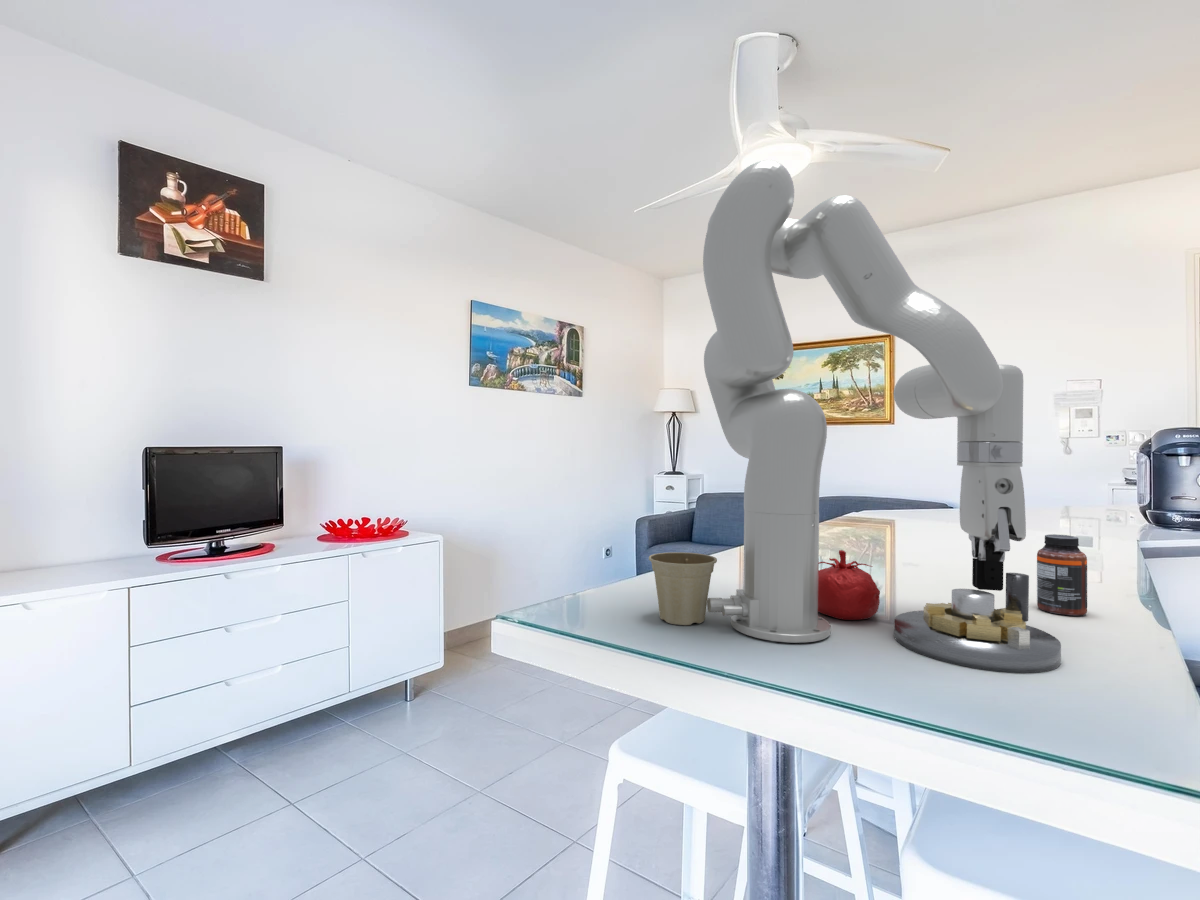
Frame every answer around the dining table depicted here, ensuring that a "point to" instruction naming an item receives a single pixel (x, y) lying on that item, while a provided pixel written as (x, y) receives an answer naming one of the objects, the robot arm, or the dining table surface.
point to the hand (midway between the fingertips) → (987, 588)
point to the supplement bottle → (1062, 576)
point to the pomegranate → (847, 591)
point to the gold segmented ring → (982, 625)
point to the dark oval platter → (1015, 655)
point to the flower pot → (682, 585)
